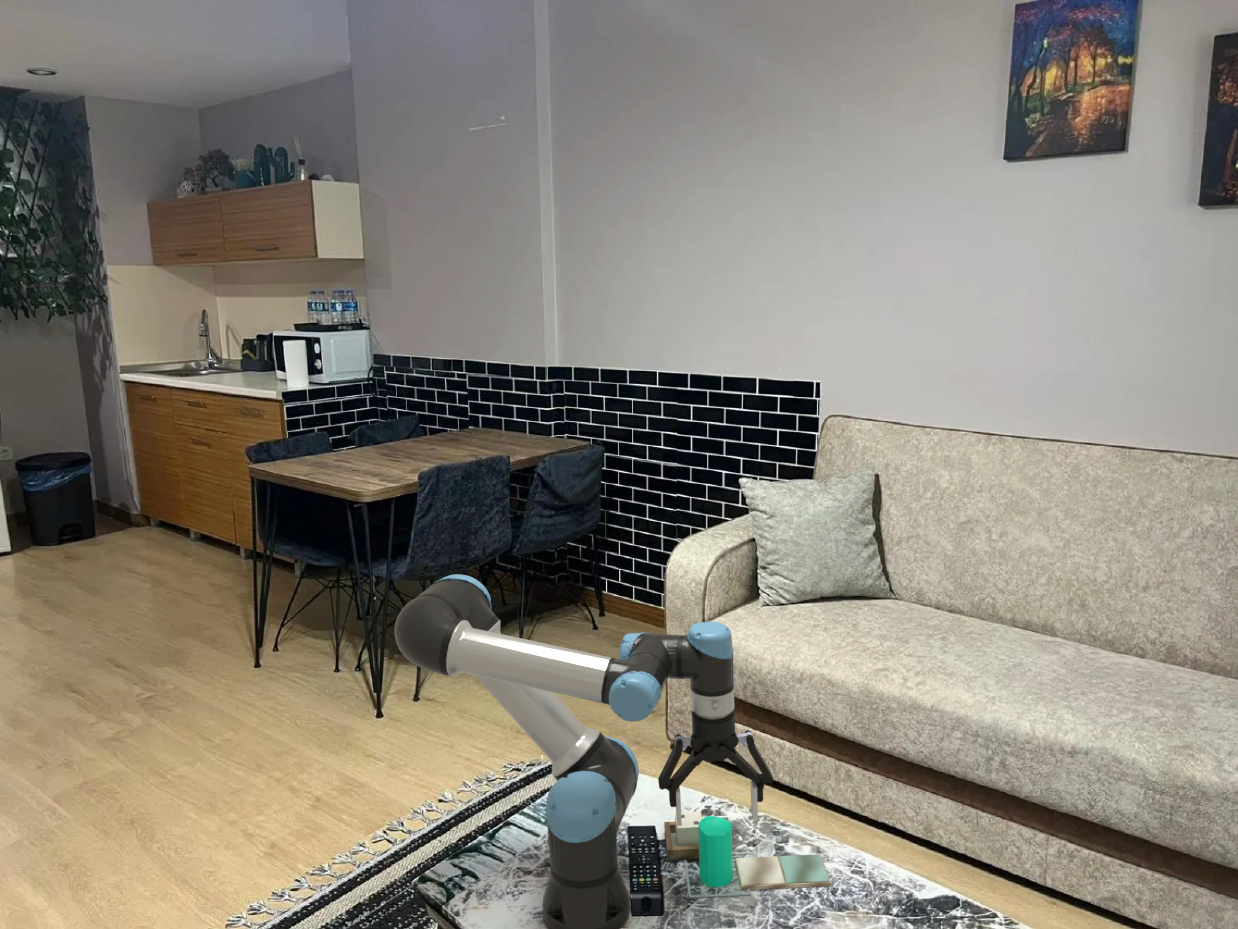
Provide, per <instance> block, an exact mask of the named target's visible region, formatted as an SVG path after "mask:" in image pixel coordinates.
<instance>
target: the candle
mask: <svg viewBox="0 0 1238 929" xmlns="http://www.w3.org/2000/svg"><path fill="white" fill-rule="evenodd" d="M698 832H699V860H698V861H699V862H698V863H699V865H698V866H699V879H700V881H701V883H703V884H705V885H706V886H707V887H710V888H711V887H712V888H723V887H726V886H728V885H729V884H731V883H732V880H733V877H734V876H733V875H734V872H733V871H734V870H733V867H734V866H733V859H732V856H733V826H732V824H731V821H730V820H728V819H725V818H724V817H719V816H716V815H706V816H705V817H702V820H700V822H699V824H698Z"/></svg>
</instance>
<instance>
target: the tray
mask: <svg viewBox="0 0 1238 929" xmlns="http://www.w3.org/2000/svg"><path fill="white" fill-rule="evenodd" d="M663 825H664V827H663V828H664V839H665V840H666V841H665V848H666V849H667V850H666V856H667V858H666V859H667V862H668V861H671V862H684V860H686V861H687V860H689V861H687V862H691V861H690V860H692V861H699V845H698V846H677V841H676V833H675V821H664V824H663ZM696 859H697V860H696Z"/></svg>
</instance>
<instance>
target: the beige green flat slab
mask: <svg viewBox="0 0 1238 929" xmlns="http://www.w3.org/2000/svg"><path fill="white" fill-rule="evenodd" d="M734 862H735V864H734V865H735V868H736V872H737V876H738V881H739V887H740V890H741V891H747V889H750V891H752V890H770V889H771V890H772V889H774V890H775V889H793V888H794V889H795V888H815V887H832V881H831V879H830V877H829V873H828V871H827V867H826V864H825V862H824V861H823V858H822V855H821V854H820V853H817V854H797V855H779V856H777V855H776V856H755V857H742V858H735V859H734Z"/></svg>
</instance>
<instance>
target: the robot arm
mask: <svg viewBox="0 0 1238 929" xmlns="http://www.w3.org/2000/svg"><path fill="white" fill-rule="evenodd" d="M491 601H492V599H491V595H490V593H489V591H488V589H487V588H486V587H485V585H483V583H482V582H480V581H479V580H478V579H476V578H474V577H472V576H469V575H465V574H457V573H456V574H450V575H449V574H448V575H447V576H445V577H443V578H441V579H438V580H436V581H435V582H434V583H431V585H430V586H429V587H428V588H426V589H425V590H424V591H422V592H421V593H420V594H418V595H417V596H416V597H414V599H412V600H410V601H409V602H407V603H406V604H405V605H404V607H402V609H401V611H400V612H399V614H398V615H397V617H396V621H395V623H394V637H395V642H396V645H397V647H398V649H399V651H400V653H401V654H402V655H403V656H404V657H405V658H406V659H407V661H409V662H410V663H411V664H413V665H415V666H416V667H417V666H418V668H421V669H424V670H426V671H429V672H432V673H435V674H438V675H443V676H447V677H457V676H458V675H460V674H461V673H464V674H468V675H471V676H472V675H473V676H474V677H475V678H476V679H477V680H478V681H479V683H481V684H482V686H483V687H484V688H485V689H486V690H487V692H489V694H490V695H491V697H492V696H493V698H494V699H495V700H496V701H497V702H498V703H499V705H501V707H502V708H503V709H504V710H505V712H507V714H509V716H510V717H511V718H512V720H514V721H515V722H516V723H517V725H518V726H519V727H520V728H521V729H522V730H523V731H524V733H525V734H526V735H527V736H528V737H529V738H530V739H531V741H533V743H535V744H536V746H537V747H538V748H539V749H540V750H541V751H542V753H543V754H544V755H545V756H546V757H547V758H548V759H549V760H550V761H551V763H552V765H551V775H552V776H553V778H555V780H556V782H554V784H553V785H551V788H550V789H549V791H548V794H547V797H546V806H545V818H546V819H545V820H546V822H547V823H546V824H547V837H548V838H547V839H548V851H549V852H548V853H549V864H550V866H549V867H550V874H549V878H548V880H547V884H546V888H545V892H544V894H543V899H542V915H543V916H542V917H543V920H544V923H545V925H546V927H547V928H548V929H621V928H622V927H623V926H624V925H625V924H626V922H627V920H628V919H629V916H630V911H631V905H630V904H631V902H630V901H631V900H630V898H631V897H630V893H629V889H628V887H627V885H626V882H625V881H624V878H623V876H622V874H621V870H620V869H619V859H618V858H619V857H618V838H617V836H618V833H619V828H620V826H621V823H622V820H623V819H624V817H625V814H626V812H627V810H628V807H629V804H630V803H631V800H632V798H633V797H634V795H635V793H636V789H637V785H638V781H639V775H640V774H639V773H640V772H639V763H638V759H637V757H636V756H635V754H634V752H633V751H632V749H631V748H630V747H629V746H628V745H627V744H626V743H625V742H624V741H622V740H621V739H618V738H616V737H615V738H611V736H605V735H604V734H603V733H602V732H601V731H600V730H599V729H598V728H587V727H586V726H584V724H583V723H581V721H580V720H579V719H578V717H577V716H575V714H574V713H573V712H572V711H571V710H570V709H569V708H568V707H567V706H566V705H565V703H564V702H563V701H562V700H561V699H560V698H559V697H558V695H557V694H560V695H564V696H567V697H573V698H576V699H577V698H578V699H583V700H587V701H591V702H596V703H601V704H603V705H608V706H610V708H611V710H612V712H613V713H614V714H615V715H616V716H617V717H619V718H620V719H622V720H623V721H626V722H630V723H631V722H633V723H634V722H641V721H643V720H645V719H647V718H648V717H649V716H650V715H651V714H652V712H653V711H654V709H655V708H656V707H657V705H658V704H659V701H660V699H661V698H662V692H663V690H664V688H665V686H666V684H667V682H668V680H669V679H672V680H673V679H674V680H689V682H690V704H691V705H690V707H691V709H692V710H691V728H692V729H691V730H692V732H691V736H690V737H688V736H687V737H686V736H685V737H684V736H682V735H681V734H679V733H677V734H675V735H674V743H673V744H674V745H673V747H672V749H671V752H670V753H669V755H668V758H667V760H666V761H665V764H664V766H663V768H662V770H661V772H660V774H659V776H658V788H659V789H660V790H662V791H663V790H667V791H668V797H669V798H668V801H669V806H670V807H671V808H675V813H676V818H677V826H682V820H681V813H682V804H681V803H682V802H681V801H682V800H681V798H682V797H681V789H680V786H681V785H683V783H684V782H685V780H686V779H687V778H688V777H689V776H690V774H691V773H692V772H693V771H694V770H695V769H696V767H697V766H699V765H700V764H702V762H703V761H706V763H712V762H725V760H727V759H728V760H729V761H730V762H731V763H732V764H734V765H735V766H737V767H736V768H738V769H739V770H741V771H742V773H744V775H745V776H746V777H748V779H749V780H750V811H751V817H752V820H753V822H756V823H757V822H758V821H759V813H758V807H759V806H758V805H759V803H763V801H764V788H765V785H766V784H767V783H768V784H772V783H773V782H774V778H773V777H774V776H773V774H772V772H771V770H770V768H769V767H768V764H767V762H766V761H765V759H764V758H763V756H762V754H761V753H760V750H759V749H758V748H757V746H756V744H755V740H754V737H753V733H752V730H749V729H747V730H746V731H744V733H739V734H737V732H736V713H735V685H734V684H735V683H734V678H735V677H734V675H735V674H734V649H733V638H732V631H731V629H730V628H729V627H728V626H727V625H726V624H724V623H722V622H718V621H711V620H710V621H705V622H696V623H694V624H692V625H691V626H690V627H689V628H688V633H687V634H685V635H684V634H683V635H682V634H680V635H679V634H666V633H665V634H664V633H662V634H661V633H649V632H636V633H634V632H633V633H630V632H629V633H626V634H625V635H624V636H623V638H622V640H621V643H620V647H619V653H618V654H619V658H614V657H610V656H604V655H601V654H595V653H591V652H588V651H587V652H586V651H581V650H577V649H574V648H573V649H572V648H567V647H562V646H560V645H559V646H558V645H553V644H549V643H544V642H540V641H535V640H531V639H525V638H520V637H517V636H511V635H507V634H502V633H501V620H500V618H499V617H498V616H497V615H496V614H495V613H494V611H492V602H491ZM739 743H741V744H742V746H743V747H745V748H747V750H748V753H749V754H750V755H751V757H752V758H753V760H754V762H755V764H756V766H757V767H758V769H759V771H760V772H761V773H759V772H758V771H757V770H756V769H755V768H754V767H753V766H752V765H751V764H750V763H749V762H748V761H747V759H745V758H744V757H743V756H742V755H741V754H740V753H739V752H738V751H737V749H736V747H737V746H738V744H739ZM689 746H690V747H691V748H692V750H691V752H690V755H689V756H688V757H687V758H686V759H685V760H684V762H683V763H682V764H681V765H680V767H679V768H678V769H677V770H676V772H674V771H675V769H676V767H677V765H678V763H679V762H680V759H681V757H682V753H683V752H685V751H686V749H687V748H688V747H689Z"/></svg>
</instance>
